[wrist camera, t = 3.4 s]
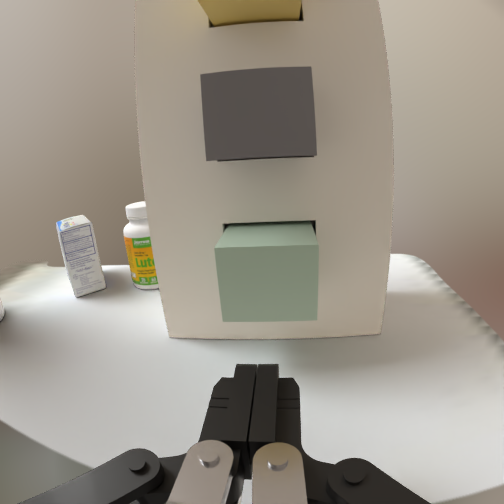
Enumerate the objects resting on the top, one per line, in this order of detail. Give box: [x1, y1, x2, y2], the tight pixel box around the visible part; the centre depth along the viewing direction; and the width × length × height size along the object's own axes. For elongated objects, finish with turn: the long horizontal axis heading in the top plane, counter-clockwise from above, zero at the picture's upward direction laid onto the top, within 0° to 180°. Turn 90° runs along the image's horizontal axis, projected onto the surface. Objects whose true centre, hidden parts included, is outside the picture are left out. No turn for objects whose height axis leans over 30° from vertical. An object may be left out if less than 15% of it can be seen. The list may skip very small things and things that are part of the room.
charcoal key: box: [200, 66, 317, 161], centre depth 19 cm, size 6×6×5 cm
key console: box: [134, 0, 394, 339], centre depth 24 cm, size 18×8×32 cm, turn 85°
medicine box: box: [56, 215, 106, 297], centre depth 37 cm, size 8×4×9 cm, turn 38°
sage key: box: [214, 220, 319, 322], centre depth 22 cm, size 6×6×5 cm
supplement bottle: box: [124, 201, 159, 290], centre depth 37 cm, size 5×5×10 cm
